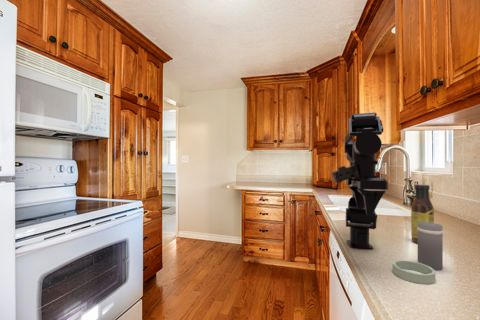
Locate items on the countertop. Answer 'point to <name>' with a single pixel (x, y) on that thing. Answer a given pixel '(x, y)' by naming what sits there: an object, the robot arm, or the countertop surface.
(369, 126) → the robot arm
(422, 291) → the countertop surface
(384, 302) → the countertop surface
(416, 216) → the sauce bottle
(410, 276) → the collar ring
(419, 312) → the countertop surface
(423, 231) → the grey upright cylinder
